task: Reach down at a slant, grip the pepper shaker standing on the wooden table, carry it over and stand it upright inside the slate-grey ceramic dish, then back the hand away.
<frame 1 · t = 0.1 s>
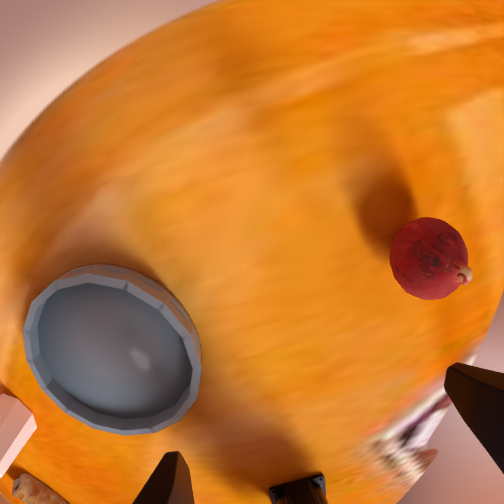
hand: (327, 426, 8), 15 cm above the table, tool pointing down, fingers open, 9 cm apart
pastry: (43, 489, 26), on the table
dish: (112, 350, 22), on the table
pepper shaker: (16, 412, 22), on the table
onion: (399, 246, 24), on the table
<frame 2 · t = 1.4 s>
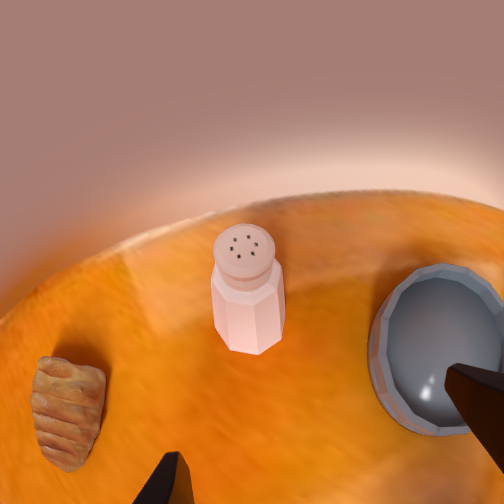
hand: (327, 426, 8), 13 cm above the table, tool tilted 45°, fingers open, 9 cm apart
pastry: (76, 409, 20), on the table
dish: (443, 352, 21), on the table
pepper shaker: (250, 322, 24), on the table
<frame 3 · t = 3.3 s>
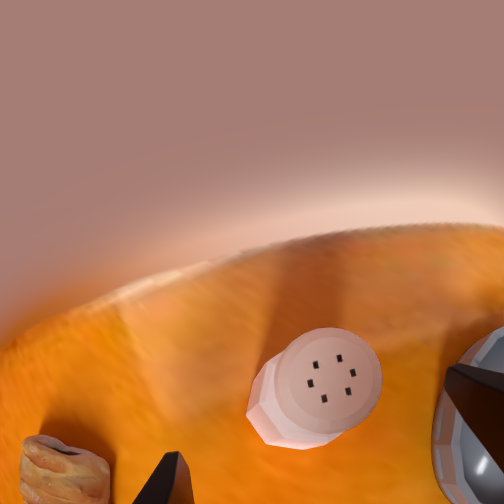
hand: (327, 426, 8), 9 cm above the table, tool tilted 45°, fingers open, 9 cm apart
pastry: (76, 495, 13), on the table
pepper shaker: (292, 406, 17), on the table
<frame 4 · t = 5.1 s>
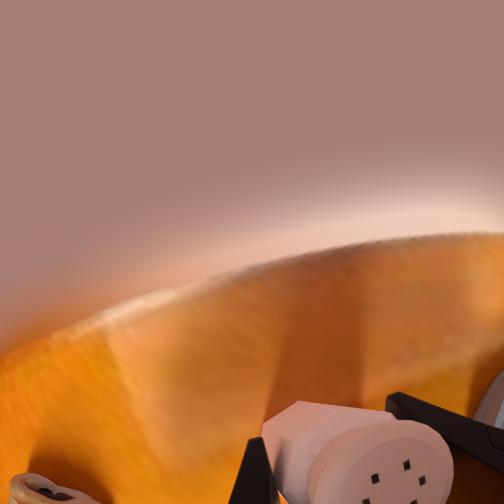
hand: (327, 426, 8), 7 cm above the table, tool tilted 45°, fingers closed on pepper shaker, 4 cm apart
pepper shaker: (308, 449, 13), on the table, touching gripper
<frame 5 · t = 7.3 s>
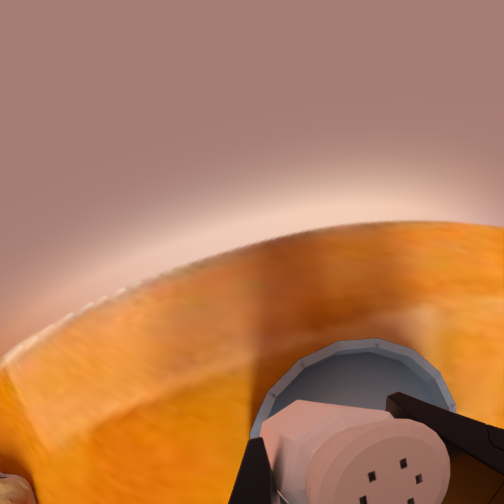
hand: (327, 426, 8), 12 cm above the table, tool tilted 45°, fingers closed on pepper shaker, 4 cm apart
dish: (353, 442, 18), on the table
pepper shaker: (307, 448, 13), point 5 cm above the table, touching gripper
when the fingers open (8 cm above the table, at t = 9.3 s): pepper shaker stays where it is, resting on dish.
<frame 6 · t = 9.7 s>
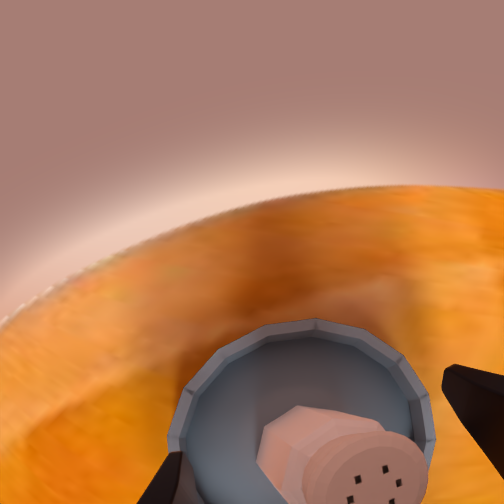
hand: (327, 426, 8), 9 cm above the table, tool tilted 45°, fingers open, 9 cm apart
dish: (303, 446, 15), on the table
pepper shaker: (306, 451, 14), point 1 cm above the table, touching dish
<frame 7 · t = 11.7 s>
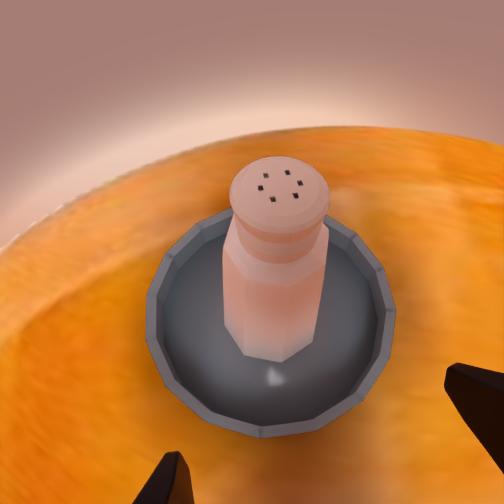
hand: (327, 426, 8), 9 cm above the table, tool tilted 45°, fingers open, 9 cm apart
dish: (270, 319, 19), on the table
pepper shaker: (271, 318, 18), point 1 cm above the table, touching dish
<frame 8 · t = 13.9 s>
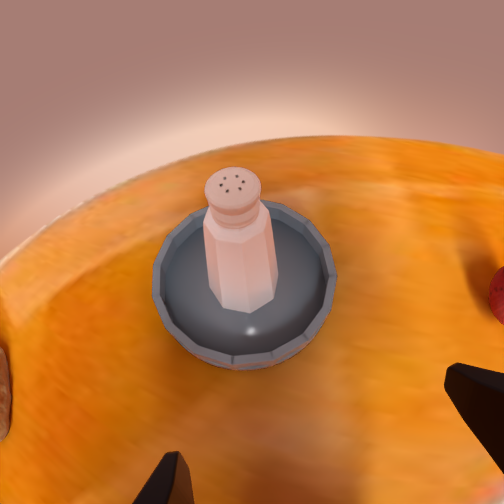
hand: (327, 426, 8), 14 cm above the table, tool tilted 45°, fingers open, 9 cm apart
dish: (244, 284, 26), on the table
pepper shaker: (244, 282, 25), point 1 cm above the table, touching dish
onion: (494, 311, 23), on the table
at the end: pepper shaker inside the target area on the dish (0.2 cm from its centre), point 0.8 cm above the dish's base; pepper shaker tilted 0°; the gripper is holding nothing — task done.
